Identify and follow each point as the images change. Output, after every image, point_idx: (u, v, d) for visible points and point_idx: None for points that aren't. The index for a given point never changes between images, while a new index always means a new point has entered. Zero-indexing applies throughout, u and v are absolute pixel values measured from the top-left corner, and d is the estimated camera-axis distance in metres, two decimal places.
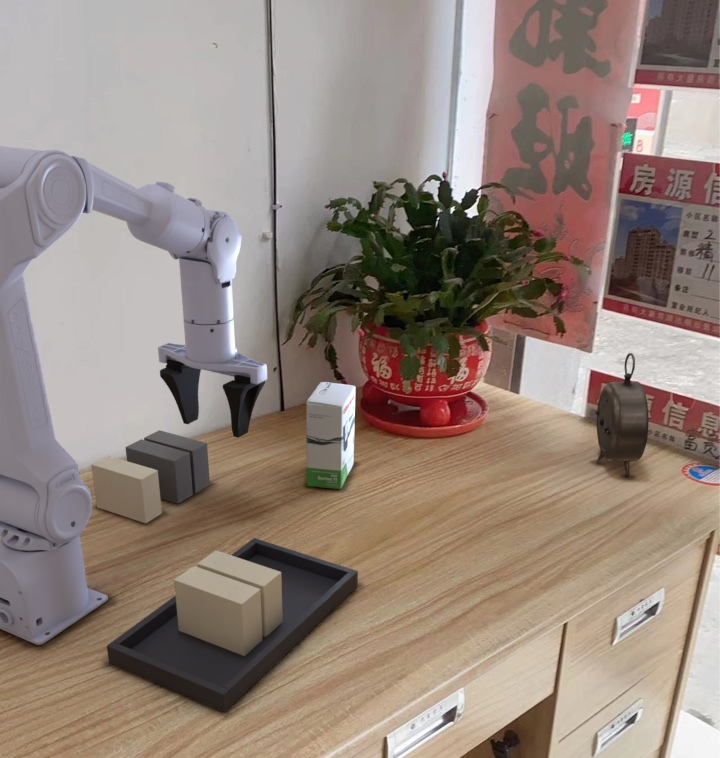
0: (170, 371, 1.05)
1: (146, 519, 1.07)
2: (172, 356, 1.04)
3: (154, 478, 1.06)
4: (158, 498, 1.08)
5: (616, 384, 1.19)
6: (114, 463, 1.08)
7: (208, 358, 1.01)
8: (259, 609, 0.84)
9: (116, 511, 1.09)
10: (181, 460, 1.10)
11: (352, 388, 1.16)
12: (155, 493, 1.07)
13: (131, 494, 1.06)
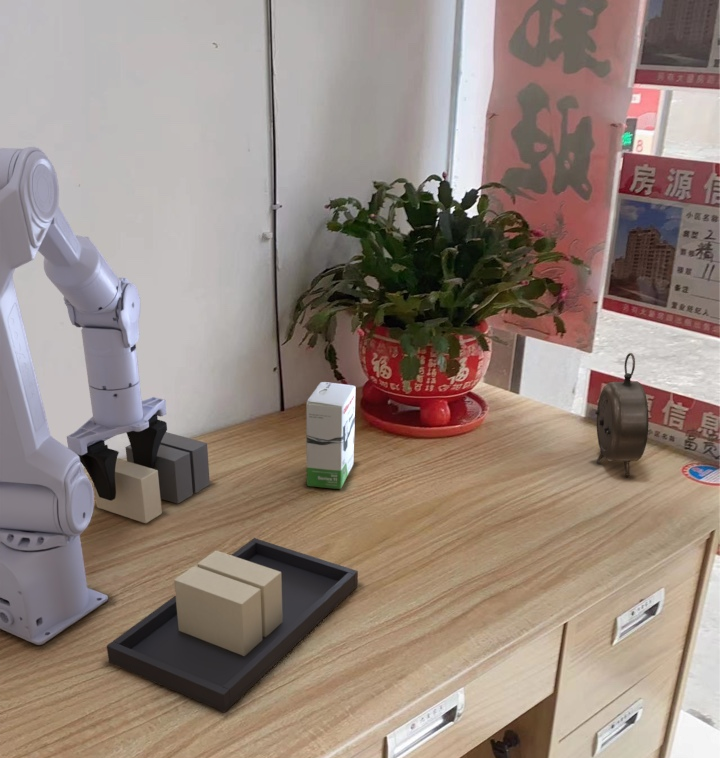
0: None
1: (146, 519, 1.07)
2: None
3: (154, 478, 1.06)
4: (158, 498, 1.08)
5: (616, 384, 1.19)
6: None
7: None
8: (259, 609, 0.84)
9: (116, 511, 1.09)
10: (181, 460, 1.10)
11: (352, 388, 1.16)
12: (155, 493, 1.07)
13: (131, 494, 1.06)
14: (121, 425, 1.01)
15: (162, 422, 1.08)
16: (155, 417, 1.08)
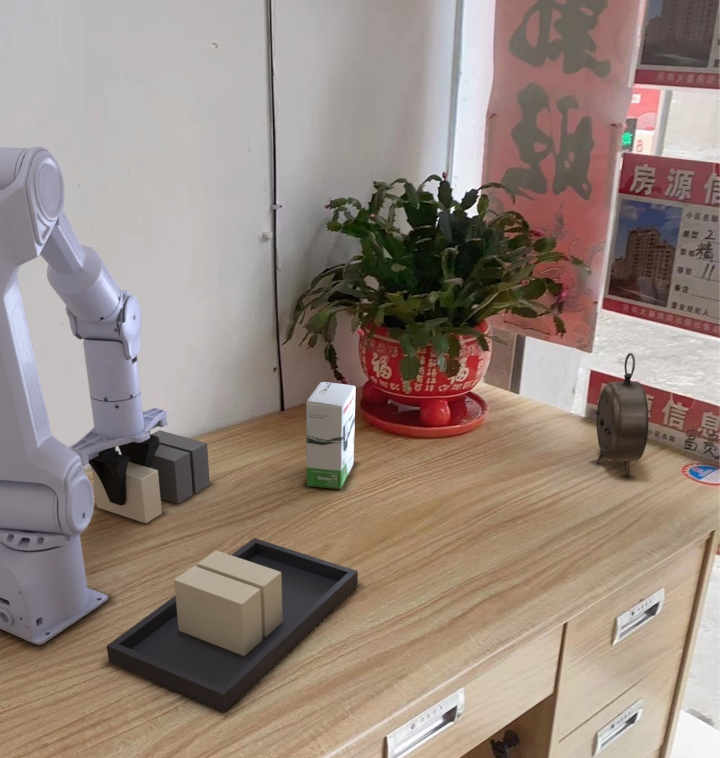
0: None
1: (146, 519, 1.07)
2: None
3: (155, 477, 1.06)
4: (158, 498, 1.08)
5: (616, 384, 1.19)
6: None
7: None
8: (259, 609, 0.84)
9: (116, 511, 1.09)
10: (181, 460, 1.10)
11: (352, 388, 1.16)
12: (155, 493, 1.07)
13: (131, 494, 1.06)
14: (122, 436, 1.02)
15: (155, 437, 1.07)
16: (148, 432, 1.08)
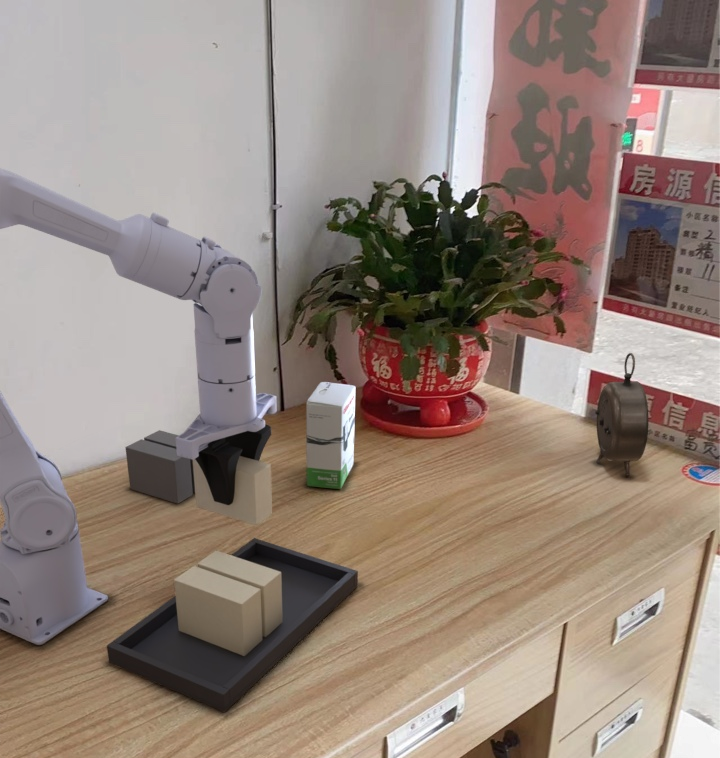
0: None
1: (257, 521, 0.93)
2: None
3: (267, 473, 0.92)
4: (270, 496, 0.93)
5: (616, 384, 1.19)
6: None
7: None
8: (259, 609, 0.84)
9: (220, 511, 0.94)
10: (181, 460, 1.10)
11: (352, 388, 1.16)
12: (267, 490, 0.93)
13: (241, 492, 0.92)
14: (235, 424, 0.88)
15: (266, 426, 0.93)
16: None
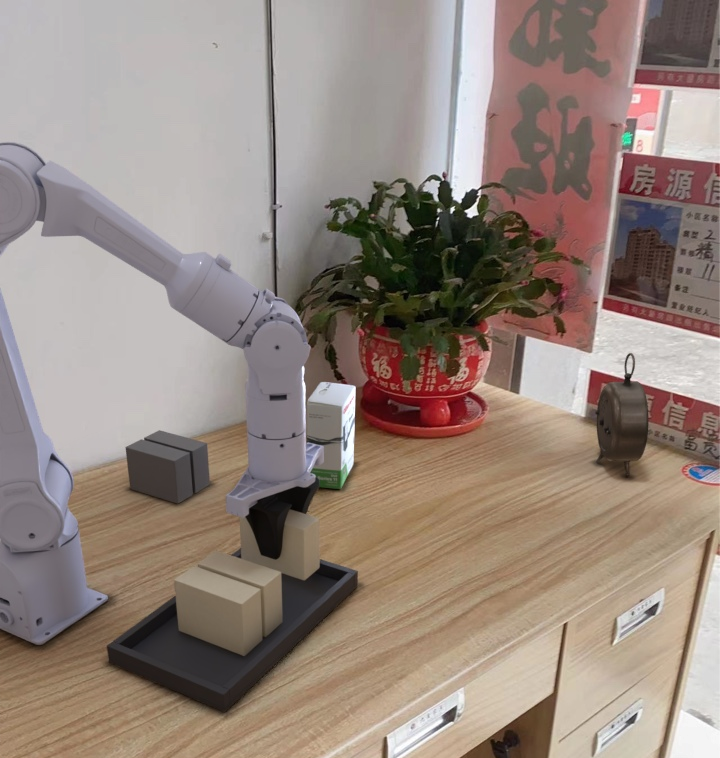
0: None
1: (305, 575, 0.90)
2: None
3: (316, 527, 0.90)
4: (317, 550, 0.91)
5: (616, 384, 1.19)
6: None
7: None
8: (259, 609, 0.84)
9: (266, 565, 0.92)
10: (181, 460, 1.10)
11: (352, 388, 1.16)
12: (315, 544, 0.90)
13: (289, 546, 0.89)
14: (285, 480, 0.86)
15: None
16: None
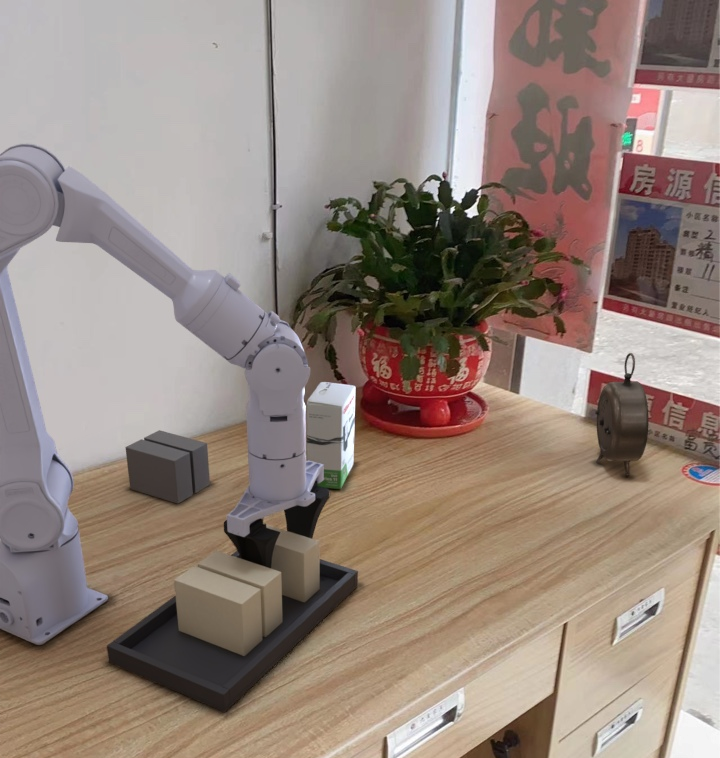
0: None
1: (305, 598, 0.92)
2: None
3: (316, 550, 0.91)
4: (318, 572, 0.93)
5: (616, 384, 1.19)
6: None
7: None
8: (259, 609, 0.84)
9: None
10: (181, 460, 1.10)
11: (352, 388, 1.16)
12: (315, 567, 0.92)
13: (289, 569, 0.91)
14: (286, 499, 0.87)
15: (324, 489, 0.93)
16: (315, 483, 0.94)
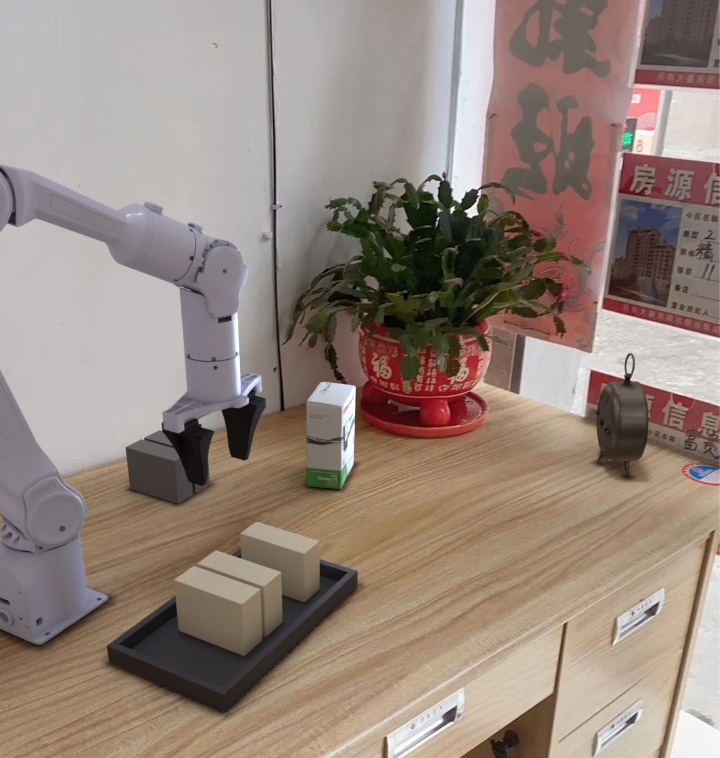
0: None
1: (305, 598, 0.92)
2: None
3: (316, 550, 0.91)
4: (318, 572, 0.93)
5: (616, 384, 1.19)
6: (266, 532, 0.92)
7: None
8: (259, 609, 0.84)
9: None
10: None
11: (352, 388, 1.16)
12: (315, 567, 0.92)
13: (289, 569, 0.91)
14: (220, 401, 0.92)
15: (261, 398, 0.99)
16: (253, 393, 1.00)
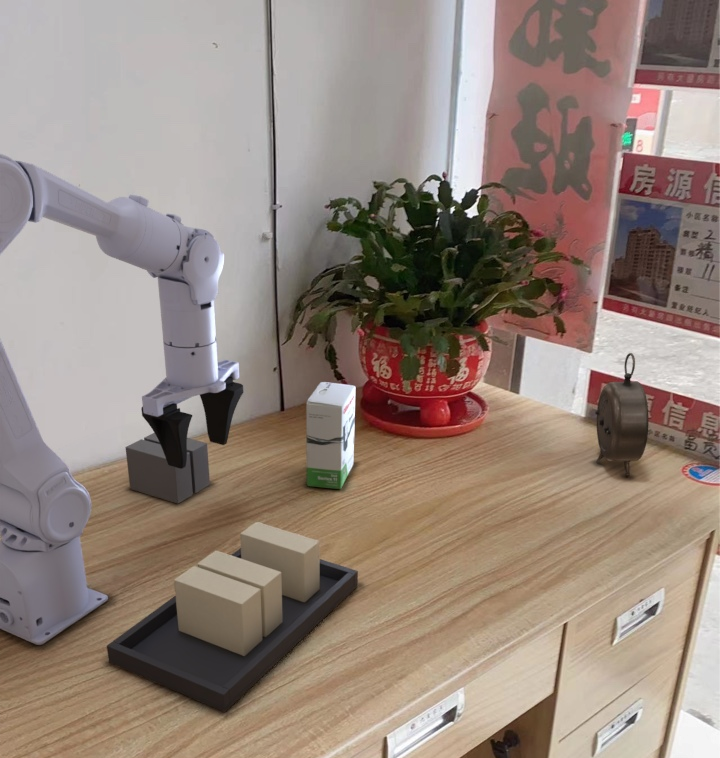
0: None
1: (305, 598, 0.92)
2: None
3: (316, 550, 0.91)
4: (318, 572, 0.93)
5: (616, 384, 1.19)
6: (266, 532, 0.92)
7: None
8: (259, 609, 0.84)
9: None
10: None
11: (352, 388, 1.16)
12: (315, 567, 0.92)
13: (289, 569, 0.91)
14: (197, 386, 0.96)
15: (238, 384, 1.03)
16: (231, 379, 1.03)
